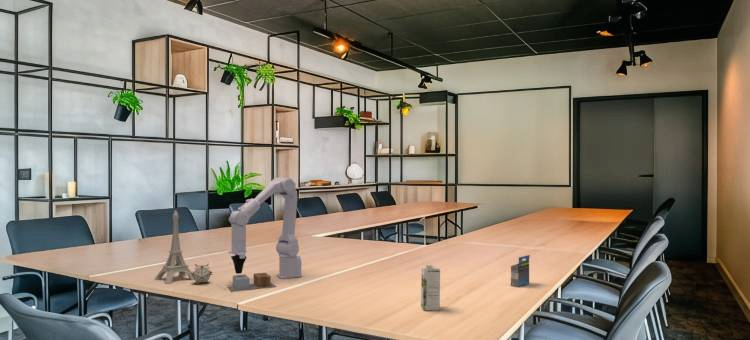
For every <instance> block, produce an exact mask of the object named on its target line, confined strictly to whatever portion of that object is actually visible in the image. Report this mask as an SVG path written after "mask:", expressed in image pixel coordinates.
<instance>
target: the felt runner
mask: <svg viewBox="0 0 750 340" xmlns="http://www.w3.org/2000/svg"><path fill="white" fill-rule="evenodd" d="M226 287H227V289H228V290H229V292H240V291H251V290H261V289H268V288H270V289H271V288H277V286H276V285H275V284H274V283H273V282H271V286H267V287H257V286H256V285H255V284H254V283H250V288H248V289H239V290H237V289H236V288H235V287H234V286H233V285H231V286H230V285H229V286H226Z"/></svg>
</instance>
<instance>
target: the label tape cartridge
mask: <svg viewBox="0 0 750 340" xmlns="http://www.w3.org/2000/svg"><path fill="white" fill-rule="evenodd" d="M529 284H530V254H527V255H524V256H519V257H518V263H515V264H513V265H511V266H510V287H514V288H520V287H523V286H527V285H529Z"/></svg>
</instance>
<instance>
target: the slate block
mask: <svg viewBox="0 0 750 340" xmlns="http://www.w3.org/2000/svg"><path fill="white" fill-rule="evenodd" d="M250 280H251V278H250V277H249V276H248V275H246V274H235V275H232V286H234V287H235V288H236V289H237V290H239V289H248V288H250V284H251V283H250Z"/></svg>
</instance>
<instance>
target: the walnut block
mask: <svg viewBox="0 0 750 340" xmlns="http://www.w3.org/2000/svg"><path fill="white" fill-rule="evenodd" d="M271 277H272V276H271V275H269V274H268V272H257V273H253V284H255V285H256V286H257V287H267V286H271V283H272V282H271V281H272V279H271Z"/></svg>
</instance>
